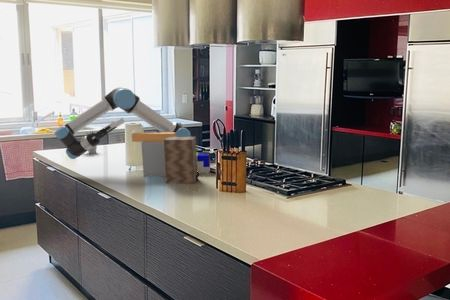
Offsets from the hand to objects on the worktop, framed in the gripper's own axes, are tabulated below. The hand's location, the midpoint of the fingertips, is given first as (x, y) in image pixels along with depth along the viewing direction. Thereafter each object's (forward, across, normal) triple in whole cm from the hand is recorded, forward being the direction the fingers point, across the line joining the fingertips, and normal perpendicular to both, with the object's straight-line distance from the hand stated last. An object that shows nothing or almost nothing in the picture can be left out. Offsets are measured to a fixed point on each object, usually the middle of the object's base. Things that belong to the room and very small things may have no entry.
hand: (119, 121), depth 266 cm
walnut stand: (+17, +15, -45) cm, 50 cm away
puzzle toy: (+22, -8, -49) cm, 54 cm away
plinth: (+2, 0, -37) cm, 37 cm away
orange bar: (+10, 0, -20) cm, 22 cm away
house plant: (-55, -64, -4) cm, 84 cm away
